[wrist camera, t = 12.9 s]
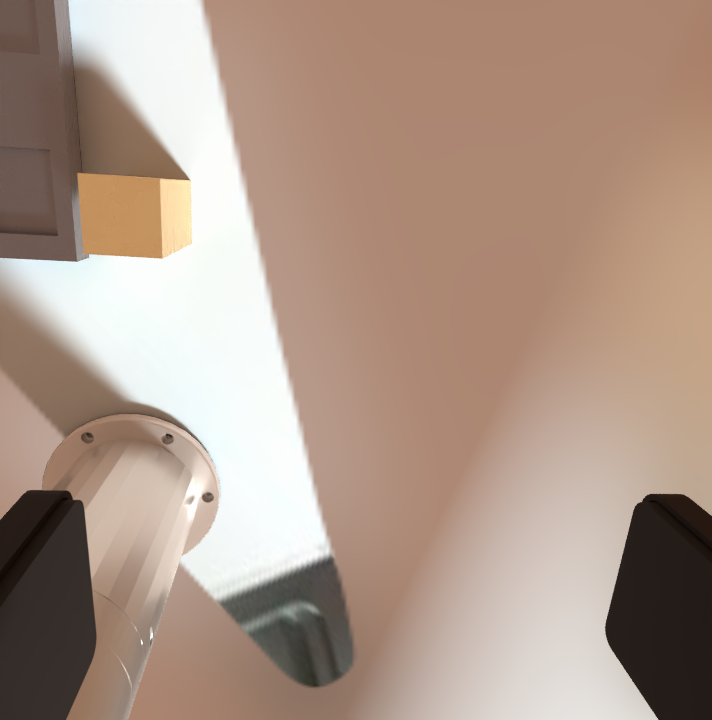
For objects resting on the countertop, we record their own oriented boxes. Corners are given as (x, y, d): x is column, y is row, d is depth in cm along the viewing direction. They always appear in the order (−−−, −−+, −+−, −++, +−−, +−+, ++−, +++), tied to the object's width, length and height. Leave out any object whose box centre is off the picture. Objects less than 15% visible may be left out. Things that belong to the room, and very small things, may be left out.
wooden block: (191, 243, 36) (162, 258, 29) (129, 239, 36) (83, 253, 28) (190, 180, 35) (160, 178, 28) (126, 175, 35) (77, 173, 27)
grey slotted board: (89, 257, 36) (76, 261, 34) (-25, 251, 35) (-43, 255, 33) (62, -65, 31) (46, -81, 29) (-72, -80, 30) (-97, -98, 28)
